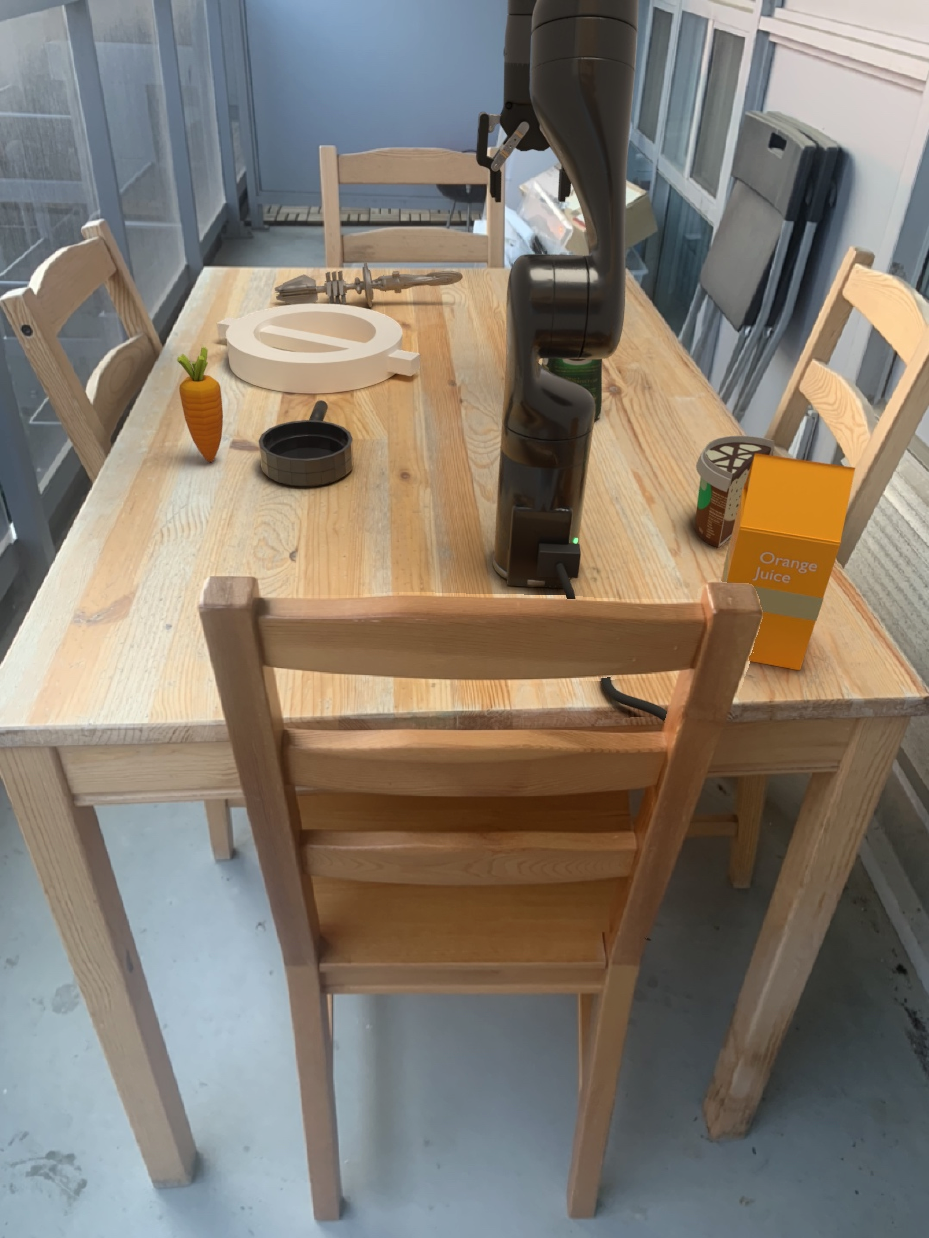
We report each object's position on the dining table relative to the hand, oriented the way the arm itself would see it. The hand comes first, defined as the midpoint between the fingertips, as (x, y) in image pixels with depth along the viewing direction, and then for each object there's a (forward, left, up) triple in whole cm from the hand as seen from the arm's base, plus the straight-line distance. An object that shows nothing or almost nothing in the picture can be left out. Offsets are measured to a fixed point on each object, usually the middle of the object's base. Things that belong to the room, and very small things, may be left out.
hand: (529, 201), depth 122 cm
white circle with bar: (+14, +32, -29) cm, 46 cm away
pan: (-24, +27, -29) cm, 46 cm away
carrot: (-23, +40, -29) cm, 55 cm away
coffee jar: (-3, -8, -29) cm, 30 cm away
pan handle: (-15, +27, -26) cm, 41 cm away
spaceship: (+43, +27, -29) cm, 58 cm away
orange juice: (-57, -24, -29) cm, 68 cm away
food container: (-34, -24, -29) cm, 50 cm away
